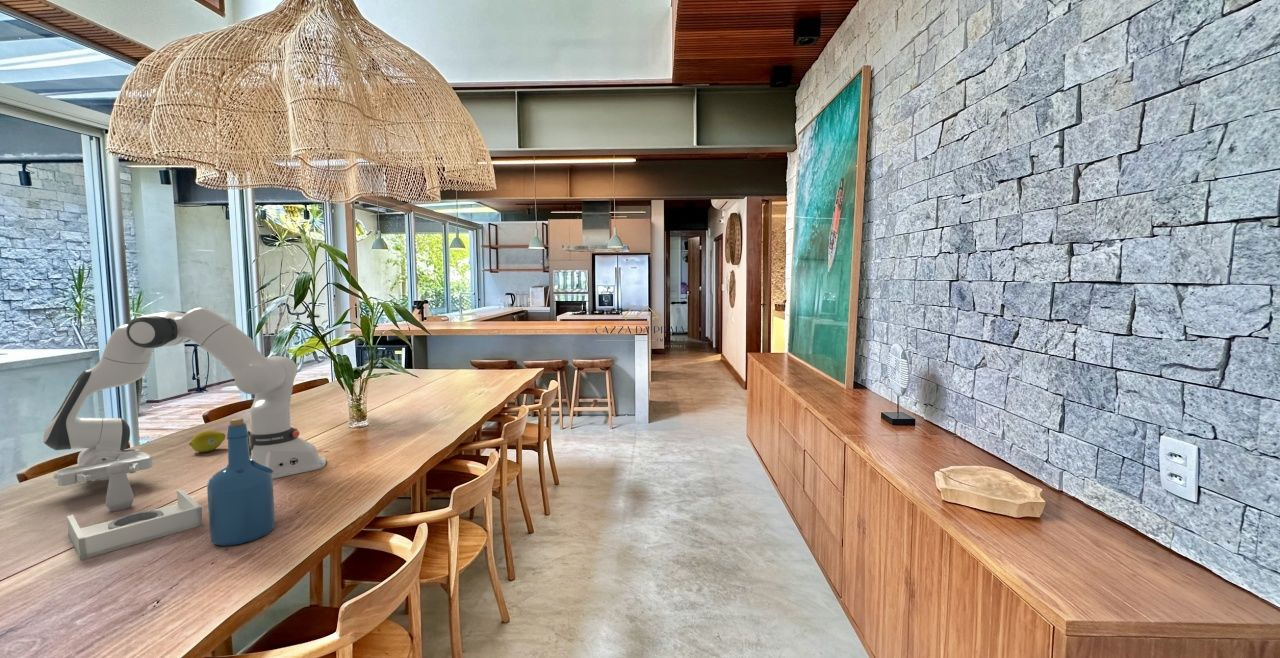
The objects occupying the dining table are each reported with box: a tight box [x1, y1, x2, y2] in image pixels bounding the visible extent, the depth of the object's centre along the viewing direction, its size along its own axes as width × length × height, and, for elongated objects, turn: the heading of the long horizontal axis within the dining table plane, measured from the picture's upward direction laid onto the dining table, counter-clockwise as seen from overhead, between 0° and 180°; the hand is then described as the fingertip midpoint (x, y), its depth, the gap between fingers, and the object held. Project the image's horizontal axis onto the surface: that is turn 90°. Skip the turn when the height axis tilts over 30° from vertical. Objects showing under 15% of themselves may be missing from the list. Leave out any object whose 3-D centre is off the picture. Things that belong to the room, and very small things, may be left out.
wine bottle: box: [206, 417, 276, 547], centre depth 129 cm, size 14×13×30 cm
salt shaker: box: [104, 462, 135, 512], centre depth 145 cm, size 6×6×13 cm
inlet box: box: [66, 488, 204, 561], centre depth 132 cm, size 20×22×5 cm
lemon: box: [188, 429, 226, 453], centre depth 196 cm, size 11×8×8 cm
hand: (110, 474), depth 152 cm, fingers open, 8 cm apart
